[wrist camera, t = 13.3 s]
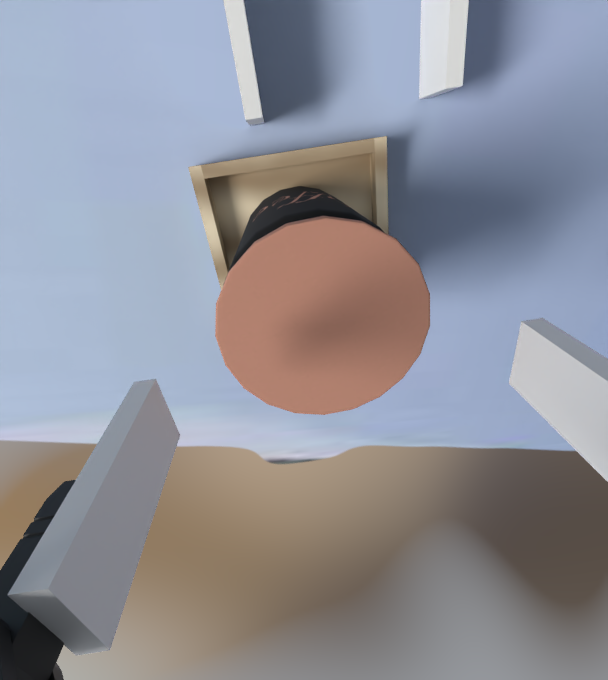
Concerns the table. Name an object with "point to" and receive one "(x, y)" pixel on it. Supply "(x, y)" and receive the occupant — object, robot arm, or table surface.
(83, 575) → the robot arm
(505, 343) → the table surface
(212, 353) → the table surface
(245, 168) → the tray
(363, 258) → the coffee jar
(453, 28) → the frame
